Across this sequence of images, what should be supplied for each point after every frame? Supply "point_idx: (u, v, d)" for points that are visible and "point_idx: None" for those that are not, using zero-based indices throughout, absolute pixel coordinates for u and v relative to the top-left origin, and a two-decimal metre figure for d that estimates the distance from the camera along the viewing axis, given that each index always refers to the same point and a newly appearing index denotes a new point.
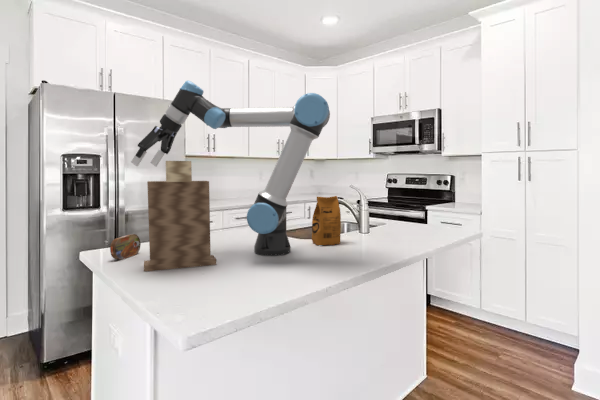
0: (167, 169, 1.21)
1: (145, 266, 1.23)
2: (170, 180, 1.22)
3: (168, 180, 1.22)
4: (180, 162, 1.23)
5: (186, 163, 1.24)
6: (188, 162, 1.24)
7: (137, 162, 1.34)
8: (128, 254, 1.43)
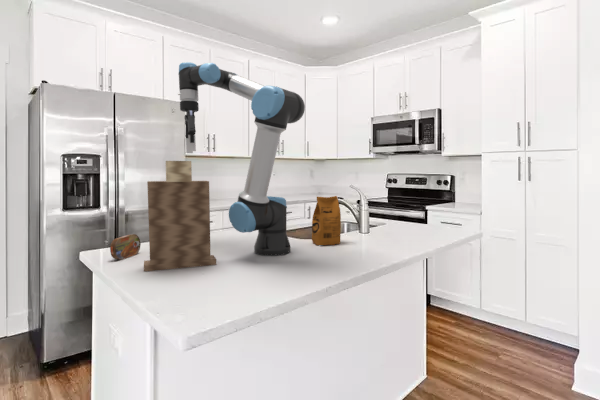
0: (167, 169, 1.21)
1: (145, 266, 1.23)
2: (170, 180, 1.22)
3: (168, 180, 1.22)
4: (180, 162, 1.23)
5: (186, 163, 1.24)
6: (188, 162, 1.24)
7: (194, 147, 1.49)
8: (128, 254, 1.43)
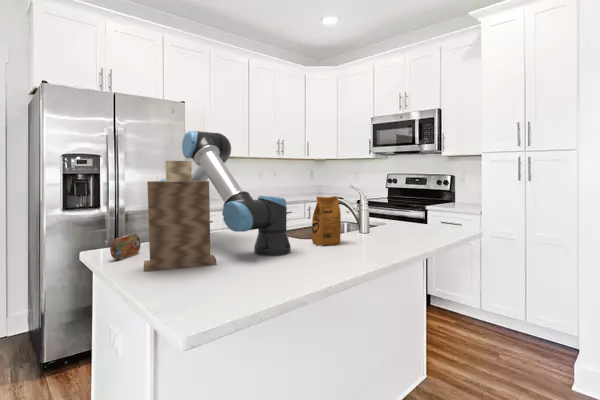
0: (167, 169, 1.21)
1: (145, 266, 1.23)
2: (170, 180, 1.22)
3: (168, 180, 1.22)
4: (180, 162, 1.23)
5: (186, 163, 1.24)
6: (188, 162, 1.24)
7: (156, 179, 1.54)
8: (128, 254, 1.43)
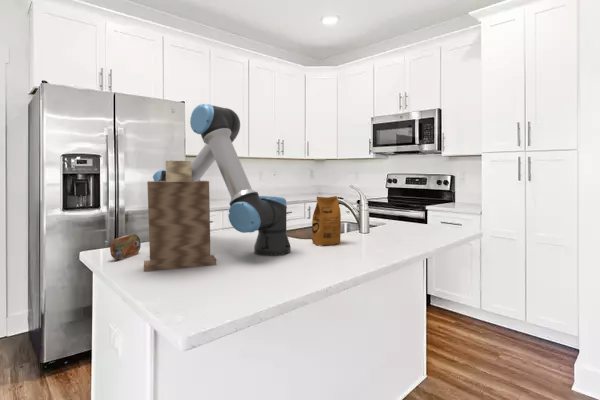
0: (167, 169, 1.21)
1: (145, 266, 1.23)
2: (170, 180, 1.22)
3: (168, 180, 1.22)
4: (180, 162, 1.23)
5: (186, 163, 1.24)
6: (188, 162, 1.24)
7: None
8: (128, 254, 1.43)
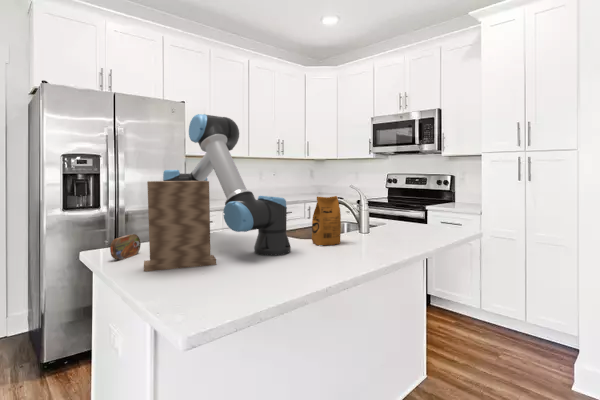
0: None
1: (145, 266, 1.23)
2: None
3: None
4: None
5: None
6: None
7: None
8: (128, 254, 1.43)
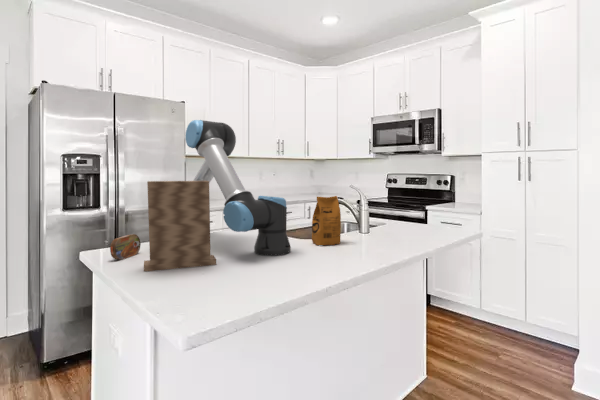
0: None
1: (145, 266, 1.23)
2: None
3: None
4: None
5: None
6: None
7: None
8: (128, 254, 1.43)
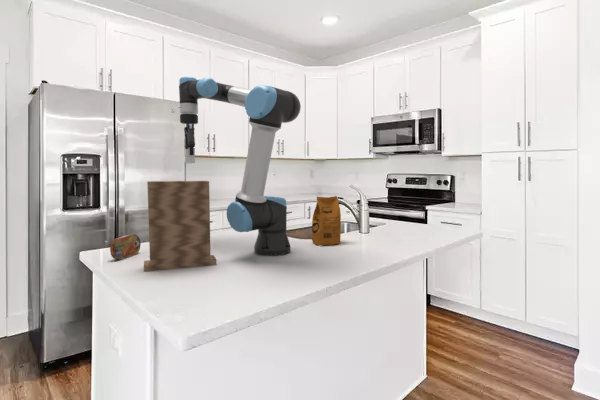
0: None
1: (145, 266, 1.23)
2: None
3: None
4: None
5: None
6: None
7: (193, 159, 1.55)
8: (128, 254, 1.43)
